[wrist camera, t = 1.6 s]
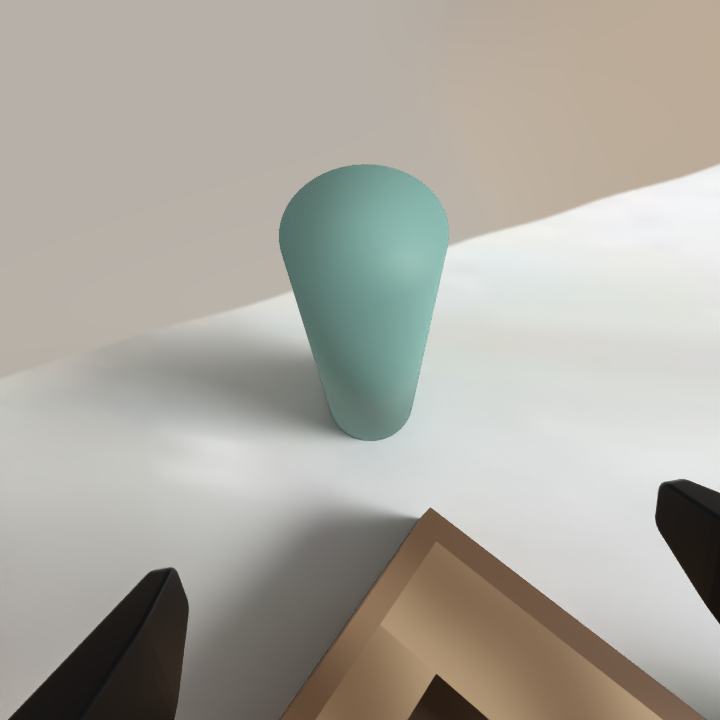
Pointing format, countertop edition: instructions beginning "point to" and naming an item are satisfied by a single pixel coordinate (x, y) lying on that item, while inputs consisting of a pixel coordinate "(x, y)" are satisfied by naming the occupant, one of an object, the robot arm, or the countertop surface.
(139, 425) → the countertop surface
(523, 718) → the brown wooden box
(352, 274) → the dowel
